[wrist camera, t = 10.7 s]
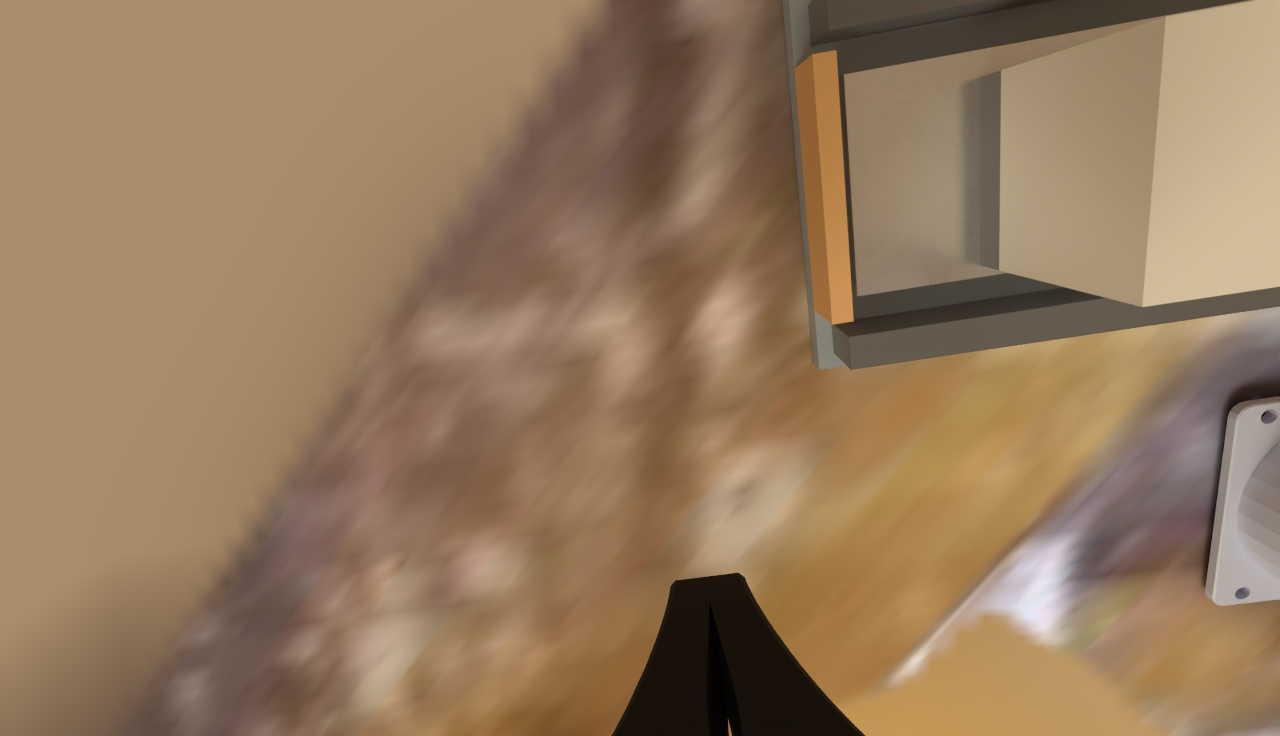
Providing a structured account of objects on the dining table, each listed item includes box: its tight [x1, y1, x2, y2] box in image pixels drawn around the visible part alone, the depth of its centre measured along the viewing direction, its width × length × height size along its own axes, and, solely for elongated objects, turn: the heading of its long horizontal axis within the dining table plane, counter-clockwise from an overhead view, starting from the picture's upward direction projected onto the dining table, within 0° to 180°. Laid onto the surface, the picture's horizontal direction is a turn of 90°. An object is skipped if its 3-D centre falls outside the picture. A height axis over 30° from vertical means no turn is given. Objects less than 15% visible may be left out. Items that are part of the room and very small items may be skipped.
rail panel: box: [782, 0, 1280, 370], centre depth 17 cm, size 13×11×3 cm
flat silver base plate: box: [838, 0, 1255, 296], centre depth 17 cm, size 11×6×1 cm, turn 99°
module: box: [980, 0, 1280, 307], centre depth 13 cm, size 4×5×6 cm
